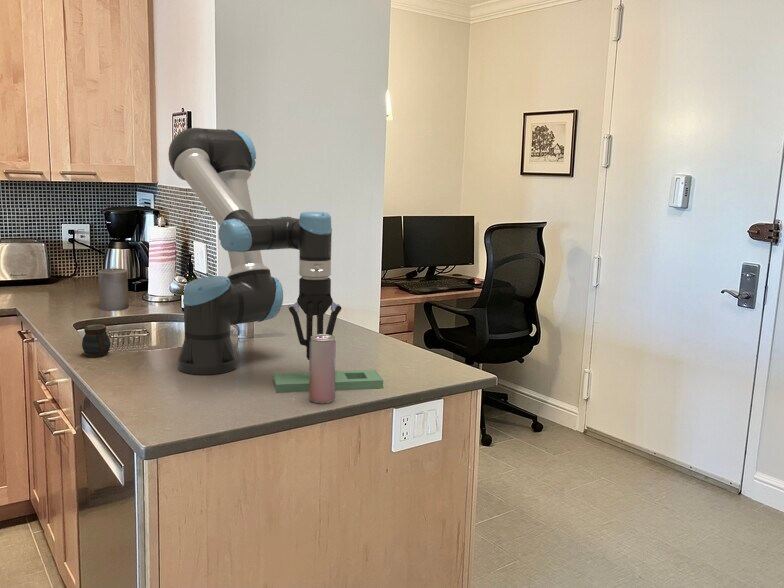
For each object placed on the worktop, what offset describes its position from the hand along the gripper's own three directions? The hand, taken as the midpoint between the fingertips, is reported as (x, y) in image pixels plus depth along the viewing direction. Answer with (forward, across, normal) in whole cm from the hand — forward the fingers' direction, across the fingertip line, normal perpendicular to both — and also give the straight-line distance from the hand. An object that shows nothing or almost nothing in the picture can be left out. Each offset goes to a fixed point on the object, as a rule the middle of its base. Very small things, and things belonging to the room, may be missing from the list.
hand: (314, 372), depth 172 cm
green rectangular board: (+4, +3, 0) cm, 5 cm away
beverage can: (+4, +1, -11) cm, 11 cm away
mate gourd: (+3, -56, +34) cm, 65 cm away
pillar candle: (+3, -61, +96) cm, 114 cm away
